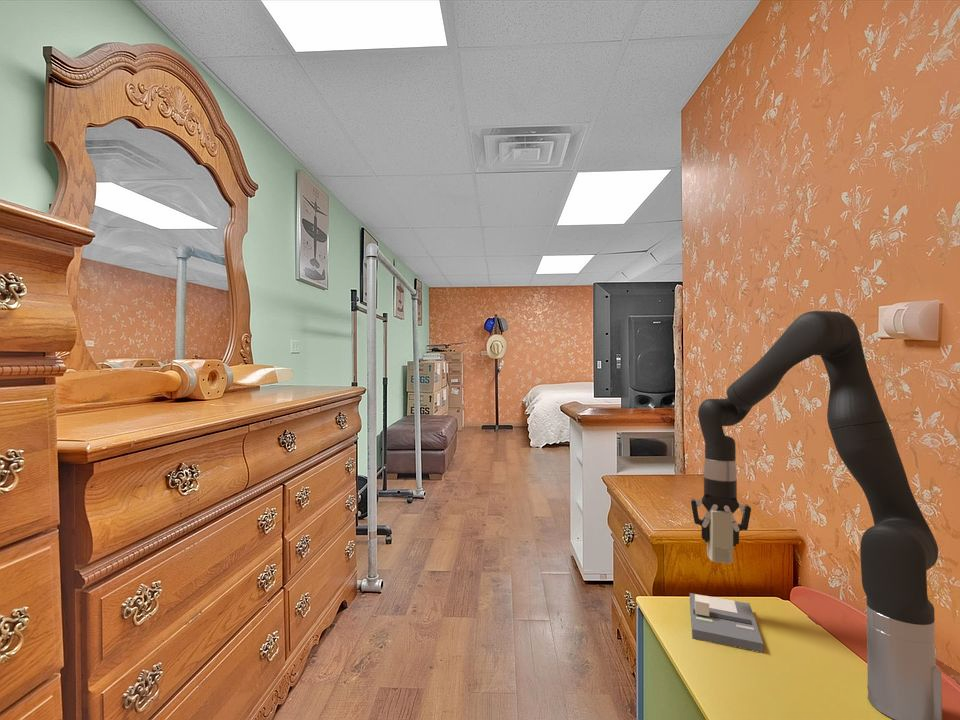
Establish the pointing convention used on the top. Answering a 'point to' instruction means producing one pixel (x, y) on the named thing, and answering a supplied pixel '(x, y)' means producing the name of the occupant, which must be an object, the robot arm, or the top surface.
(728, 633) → the switch board
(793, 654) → the top surface
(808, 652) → the top surface
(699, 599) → the tab
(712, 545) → the box
